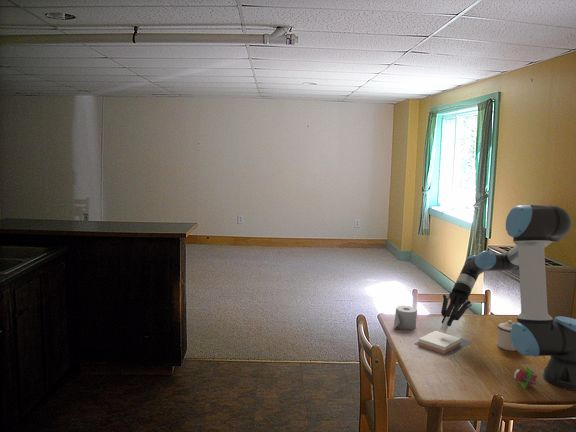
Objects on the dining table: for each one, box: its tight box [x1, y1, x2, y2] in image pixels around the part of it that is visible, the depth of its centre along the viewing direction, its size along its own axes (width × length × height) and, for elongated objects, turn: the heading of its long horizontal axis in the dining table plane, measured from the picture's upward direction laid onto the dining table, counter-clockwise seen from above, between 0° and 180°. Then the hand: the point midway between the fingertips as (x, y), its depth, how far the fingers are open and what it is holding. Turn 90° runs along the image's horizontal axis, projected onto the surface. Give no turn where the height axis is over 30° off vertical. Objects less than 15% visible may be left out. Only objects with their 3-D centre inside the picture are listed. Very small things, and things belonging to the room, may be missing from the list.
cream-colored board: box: [417, 330, 462, 355], centre depth 212 cm, size 3×12×14 cm
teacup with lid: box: [496, 319, 517, 352], centre depth 214 cm, size 12×9×12 cm
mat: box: [414, 333, 473, 356], centre depth 215 cm, size 22×16×1 cm
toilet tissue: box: [393, 305, 418, 330], centre depth 232 cm, size 9×13×9 cm
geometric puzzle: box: [513, 366, 538, 390], centre depth 177 cm, size 7×7×8 cm
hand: (442, 331), depth 213 cm, fingers closed
